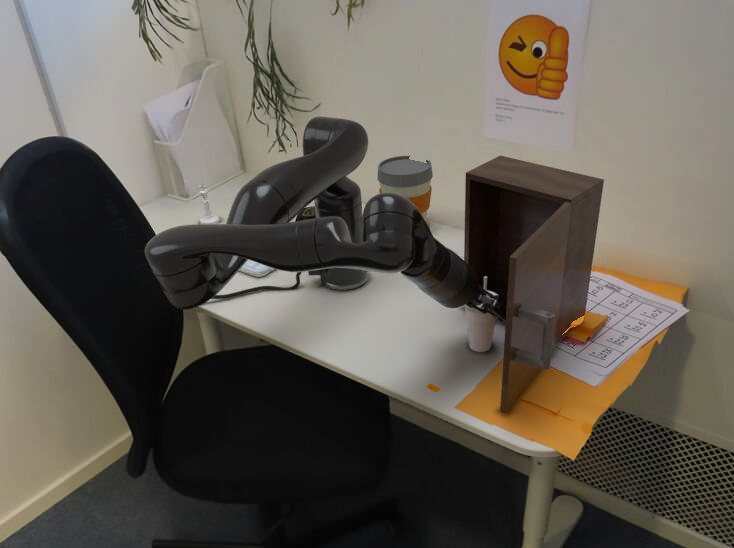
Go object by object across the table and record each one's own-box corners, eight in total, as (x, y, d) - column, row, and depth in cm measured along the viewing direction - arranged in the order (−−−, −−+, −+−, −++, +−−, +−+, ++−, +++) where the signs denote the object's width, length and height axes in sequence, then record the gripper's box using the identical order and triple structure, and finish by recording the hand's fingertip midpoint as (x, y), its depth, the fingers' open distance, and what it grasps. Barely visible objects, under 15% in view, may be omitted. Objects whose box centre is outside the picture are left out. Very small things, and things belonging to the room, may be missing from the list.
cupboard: (554, 345, 120) (571, 199, 104) (463, 308, 132) (465, 172, 116) (584, 321, 125) (604, 179, 110) (493, 288, 137) (500, 155, 121)
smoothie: (487, 360, 118) (490, 289, 109) (455, 349, 121) (455, 279, 113) (505, 342, 122) (509, 272, 113) (473, 332, 125) (475, 263, 117)
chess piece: (203, 217, 175) (195, 179, 169) (222, 217, 174) (214, 179, 169) (197, 225, 171) (188, 187, 165) (216, 225, 170) (208, 187, 165)
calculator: (240, 235, 165) (238, 227, 164) (302, 254, 155) (301, 246, 154) (198, 257, 157) (196, 249, 156) (260, 279, 146) (259, 271, 145)
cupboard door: (584, 356, 117) (606, 209, 101) (537, 424, 104) (554, 267, 88) (549, 346, 120) (565, 201, 104) (500, 411, 107) (509, 256, 91)
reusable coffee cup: (424, 240, 156) (423, 177, 148) (372, 235, 160) (368, 173, 151) (439, 217, 166) (439, 156, 157) (390, 213, 170) (387, 153, 161)
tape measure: (300, 219, 170) (298, 205, 168) (327, 219, 169) (325, 204, 167) (295, 231, 165) (293, 217, 163) (323, 231, 164) (321, 216, 162)
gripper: (398, 284, 109) (444, 315, 123) (470, 313, 101) (512, 344, 114) (419, 241, 109) (463, 277, 122) (493, 267, 100) (532, 303, 114)
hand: (487, 309), depth 118 cm, fingers closed on smoothie, 6 cm apart
